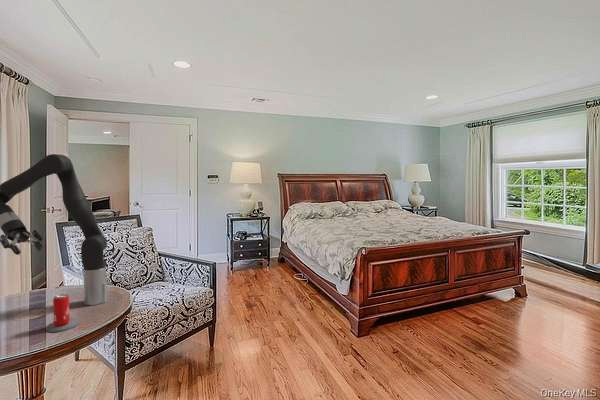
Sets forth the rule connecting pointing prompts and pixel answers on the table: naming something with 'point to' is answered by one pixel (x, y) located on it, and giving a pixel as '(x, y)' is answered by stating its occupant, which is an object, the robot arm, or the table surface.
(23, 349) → the table surface
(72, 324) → the rubber mat
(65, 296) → the beverage can
